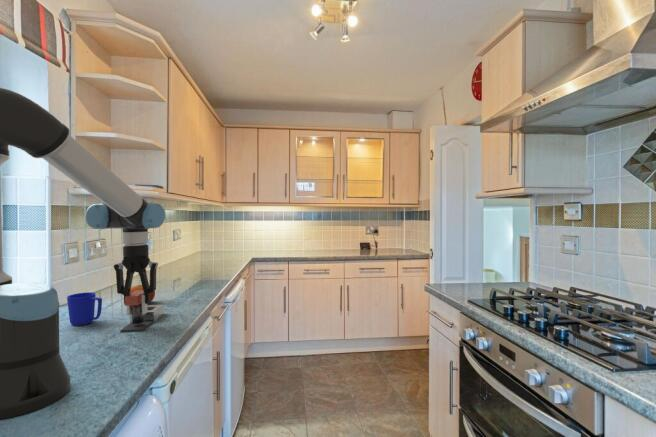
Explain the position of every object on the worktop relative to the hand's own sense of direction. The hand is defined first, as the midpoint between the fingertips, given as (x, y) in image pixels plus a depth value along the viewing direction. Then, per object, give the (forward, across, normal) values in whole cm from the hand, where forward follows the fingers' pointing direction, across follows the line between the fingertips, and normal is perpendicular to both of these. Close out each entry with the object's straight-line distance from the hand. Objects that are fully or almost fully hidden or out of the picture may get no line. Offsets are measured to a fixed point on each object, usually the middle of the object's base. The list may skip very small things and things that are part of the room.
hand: (137, 313), depth 118 cm
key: (+3, 0, 0) cm, 3 cm away
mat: (+5, 0, 0) cm, 5 cm away
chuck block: (+5, 0, -10) cm, 11 cm away
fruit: (+5, +10, -31) cm, 33 cm away
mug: (+5, +20, -7) cm, 21 cm away
